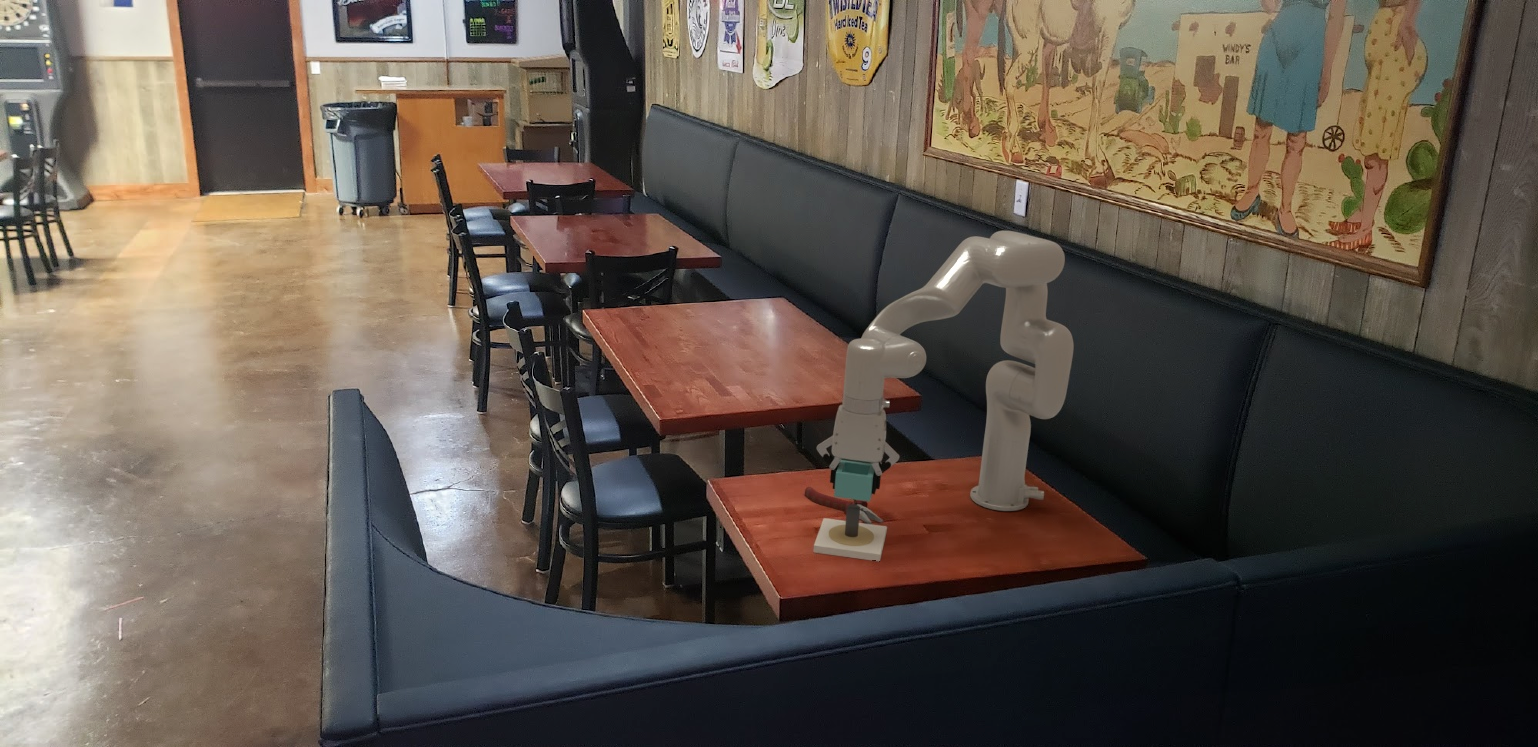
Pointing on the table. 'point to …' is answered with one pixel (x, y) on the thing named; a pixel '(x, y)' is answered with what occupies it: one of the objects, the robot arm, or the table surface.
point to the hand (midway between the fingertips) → (854, 488)
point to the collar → (854, 480)
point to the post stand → (850, 537)
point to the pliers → (842, 504)
